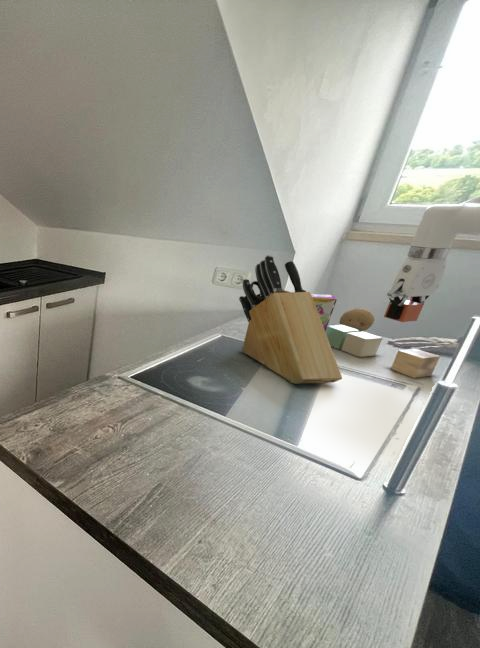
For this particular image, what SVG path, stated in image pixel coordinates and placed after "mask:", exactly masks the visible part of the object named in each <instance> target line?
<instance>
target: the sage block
mask: <svg viewBox="0 0 480 648" xmlns="http://www.w3.org/2000/svg"><path fill="white" fill-rule="evenodd" d="M359 331H360V330H357V329H354V328H351V327H348V326H345V325H340V324H335V325H328V326H327V328H326V331H325V332H326V335H327V338H328V340H329V343H330V346H331V348H335V349H338V350H339V349H340V350H341V349H342V346H343V344H344V341H345V338H346V335H347V333H352V332H359Z"/></svg>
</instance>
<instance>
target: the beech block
mask: <svg viewBox="0 0 480 648" xmlns="http://www.w3.org/2000/svg"><path fill="white" fill-rule="evenodd" d="M440 358H441V356H440V355H437V354H434V353H431V352H428V351H425V350H422V349H419V348H417V347H416V348H407V349H399V350H398V351H397V353H396V355H395V357H394V360H393V362H392V365H391V367H390V370H392V371H394V372H397V373H399V374H402V375H405V376H408V377H410V378H412V379H416V378H424V377H431V376H432V375H433V373H434V370H435V369H436V366H437V364H438V362H439V360H440Z"/></svg>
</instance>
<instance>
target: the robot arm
mask: <svg viewBox="0 0 480 648" xmlns="http://www.w3.org/2000/svg"><path fill="white" fill-rule="evenodd" d="M458 234H459V235H471V236H477V237H478V236H479V237H480V194H478V195H476V196H475V197H472V198H470V199H468V200H466V201H463V202H462V203H459V204H433V205H430V206H428V207H427V208H426V209H425V210H424V212H423V214H422V217H421V219H420V222H419V224H418V227H417V229H416V232H415V234H414V237H413V240H412V242H411V245H410V247H409V248H408V251H407V254H406V257H405V259H404V261H403V263H402V264H401V266H400V268H399V270H398V272H397V273H396V276H395V277H394V280H393V282H392V285H391V289H390V290H389V291H388V292H387V293H386V296H387V298H388V299H389V302H390V307H389V309H388V312H387V314H386V317H388V318H387V319H389V318H392V319H391V320H393V319H395V320H394V321H396V320H398V319H400V316H401V314H402V311H403V309H404V307H405V306H403V304H404V303H405V301H406V300H408V298H410V299H409V301H413V302H417V303H422V304H425V301H426V300H427V299H429V297H431V296H433V295H435V294H436V293H437V291H438V289H439V287H440V284H441V280H442V279H443V276H444V273H445V269H446V265H447V258H448V255H449V253H450V250H451V248H452V246H453V243H454V241H455V239H456V237H457V235H458ZM400 297H401V298H400ZM386 317H385V318H386Z"/></svg>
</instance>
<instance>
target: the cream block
mask: <svg viewBox="0 0 480 648" xmlns="http://www.w3.org/2000/svg"><path fill="white" fill-rule="evenodd" d="M382 340H383V337H382V336H378V335H375V334H373V333H369V332H367V331H364V332H363V331H362V332H352V333H347V335H346V338H345V341H344V344H343V346H342V348H341V349H340V350H341V351H344V352H345V353H347V354H351V355H353V356H356V357H359V358H364V357H373V356H376V355H377V352H378V350H379V347H380V345H381V344H382Z"/></svg>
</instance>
